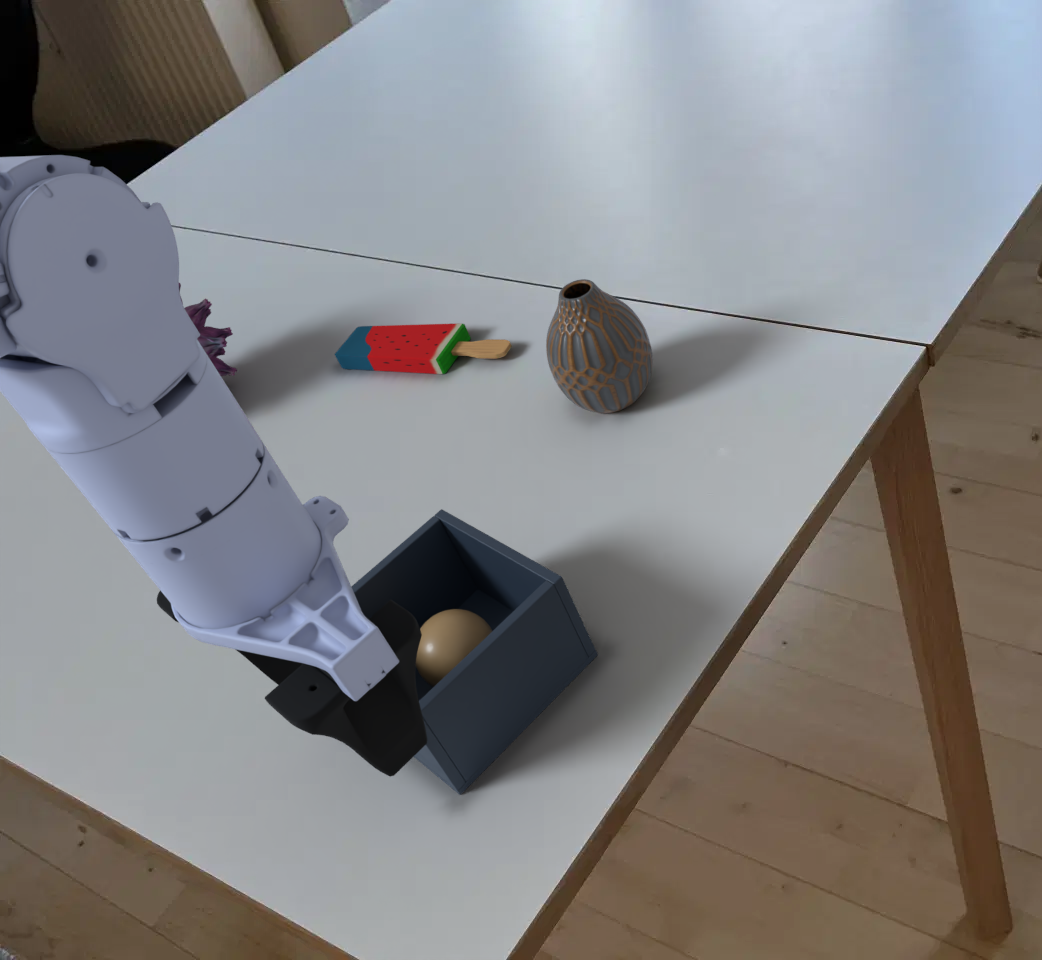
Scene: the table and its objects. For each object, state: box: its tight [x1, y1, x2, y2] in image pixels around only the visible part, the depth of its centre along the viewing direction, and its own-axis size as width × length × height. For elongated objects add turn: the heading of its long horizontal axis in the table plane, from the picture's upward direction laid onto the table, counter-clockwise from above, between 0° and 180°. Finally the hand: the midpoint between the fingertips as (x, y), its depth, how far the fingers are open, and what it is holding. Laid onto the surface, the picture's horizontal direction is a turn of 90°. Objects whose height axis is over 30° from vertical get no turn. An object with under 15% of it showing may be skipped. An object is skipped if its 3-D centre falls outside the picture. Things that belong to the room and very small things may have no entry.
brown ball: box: [416, 609, 492, 687], centre depth 59 cm, size 4×4×4 cm
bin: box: [351, 508, 599, 796], centre depth 58 cm, size 10×10×6 cm
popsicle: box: [334, 322, 512, 375], centre depth 86 cm, size 5×2×15 cm
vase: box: [545, 278, 654, 414], centre depth 73 cm, size 7×7×9 cm
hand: (353, 713), depth 47 cm, fingers open, 7 cm apart
